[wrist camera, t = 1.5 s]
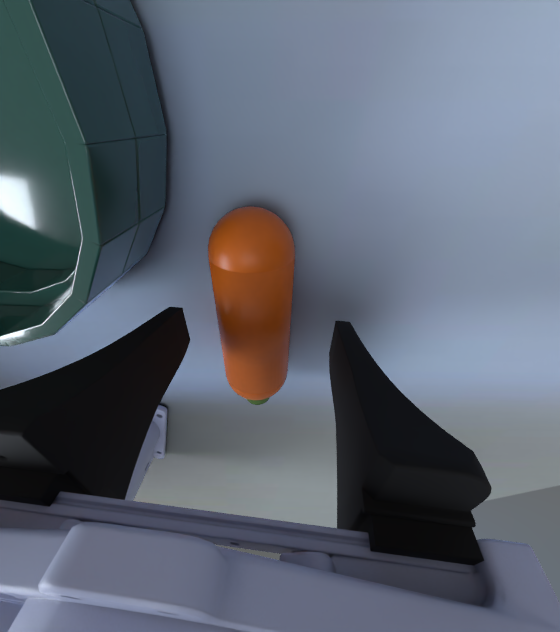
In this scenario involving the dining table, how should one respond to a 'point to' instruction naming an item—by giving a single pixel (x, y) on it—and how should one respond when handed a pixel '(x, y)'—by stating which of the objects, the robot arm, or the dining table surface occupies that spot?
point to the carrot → (253, 298)
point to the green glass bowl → (73, 158)
